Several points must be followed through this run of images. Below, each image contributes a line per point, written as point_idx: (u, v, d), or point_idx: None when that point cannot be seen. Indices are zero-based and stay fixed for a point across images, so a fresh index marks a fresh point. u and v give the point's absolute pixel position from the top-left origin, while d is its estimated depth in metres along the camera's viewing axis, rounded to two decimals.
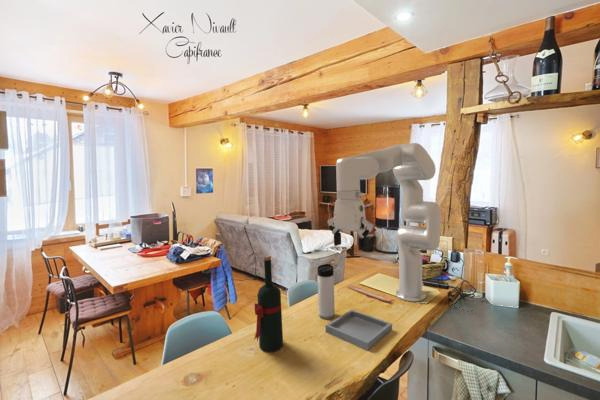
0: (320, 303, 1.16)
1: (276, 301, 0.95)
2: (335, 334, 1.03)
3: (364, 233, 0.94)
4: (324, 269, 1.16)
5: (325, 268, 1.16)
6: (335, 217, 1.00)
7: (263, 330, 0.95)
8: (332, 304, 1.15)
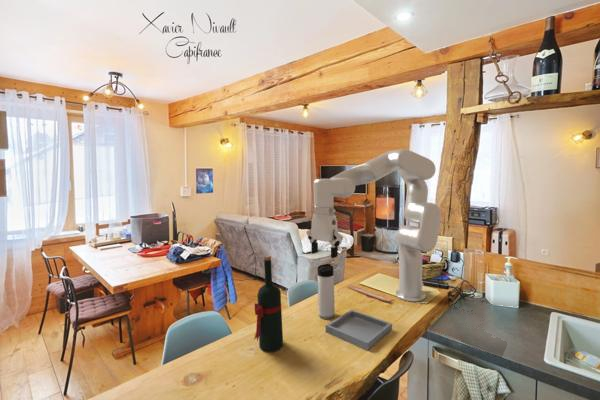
0: (320, 303, 1.16)
1: (276, 301, 0.95)
2: (335, 334, 1.03)
3: (335, 243, 1.11)
4: (324, 269, 1.16)
5: (325, 268, 1.16)
6: (312, 229, 1.16)
7: (263, 330, 0.95)
8: (332, 304, 1.15)
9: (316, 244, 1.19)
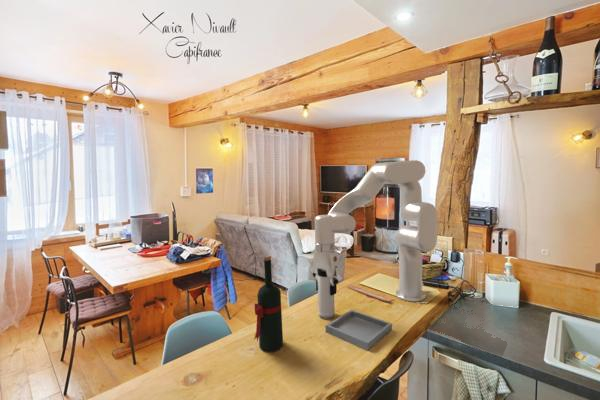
0: (320, 303, 1.16)
1: (276, 301, 0.95)
2: (335, 334, 1.03)
3: (335, 282, 1.13)
4: None
5: None
6: (314, 264, 1.17)
7: (263, 330, 0.95)
8: (332, 304, 1.15)
9: None
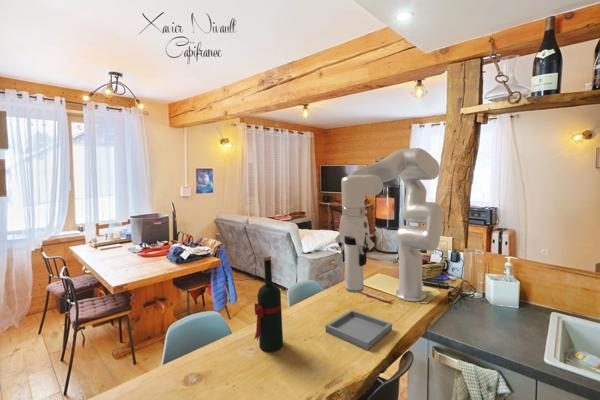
0: (348, 275, 1.03)
1: (276, 301, 0.95)
2: (335, 334, 1.03)
3: (365, 251, 1.00)
4: None
5: None
6: (341, 232, 1.05)
7: (263, 330, 0.95)
8: (361, 276, 1.03)
9: None
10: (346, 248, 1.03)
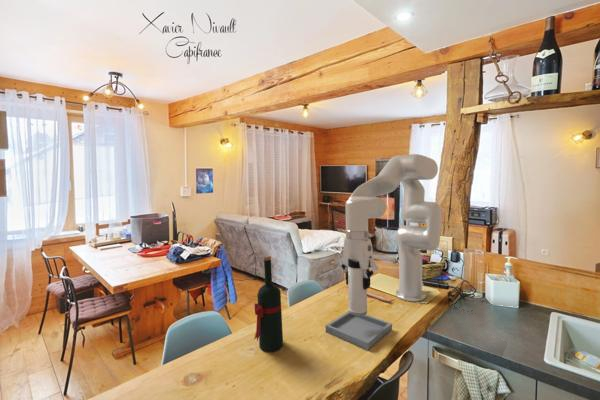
0: (351, 298, 1.02)
1: (276, 301, 0.95)
2: (335, 334, 1.03)
3: (369, 274, 1.00)
4: None
5: None
6: (344, 254, 1.04)
7: (263, 330, 0.95)
8: (365, 299, 1.02)
9: None
10: (350, 271, 1.02)
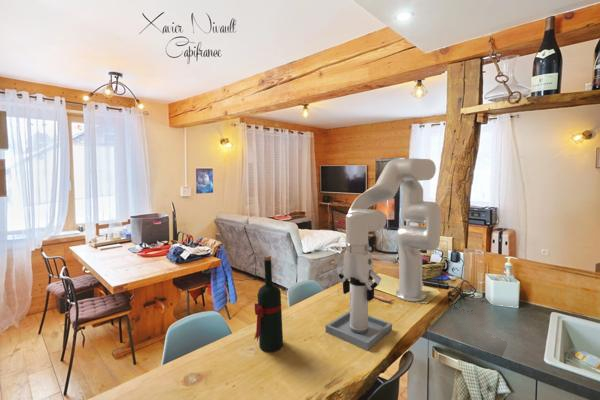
0: (352, 315, 1.03)
1: (276, 301, 0.95)
2: (335, 334, 1.03)
3: (372, 285, 0.99)
4: None
5: None
6: (345, 267, 1.05)
7: (263, 330, 0.95)
8: (366, 316, 1.03)
9: (348, 283, 1.08)
10: (352, 288, 1.03)
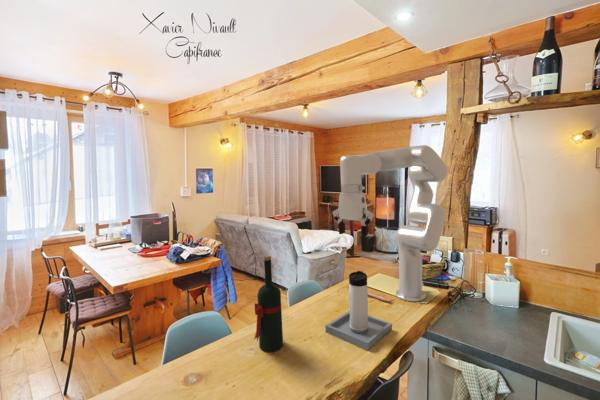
0: (352, 315, 1.03)
1: (276, 301, 0.95)
2: (335, 334, 1.03)
3: (366, 222, 1.07)
4: (357, 277, 1.03)
5: (357, 276, 1.04)
6: (340, 208, 1.12)
7: (263, 330, 0.95)
8: (366, 317, 1.03)
9: (343, 224, 1.15)
10: (351, 289, 1.03)
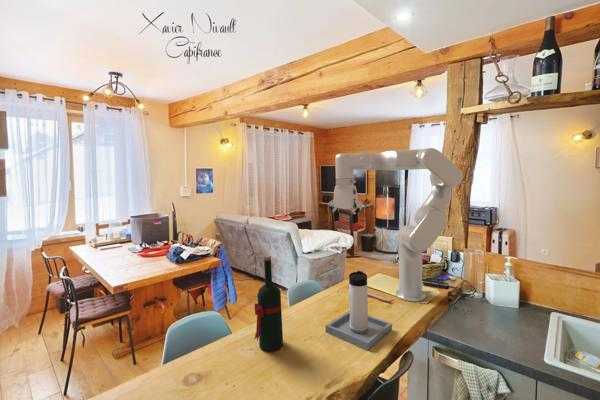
0: (352, 315, 1.03)
1: (276, 301, 0.95)
2: (335, 334, 1.03)
3: (356, 210, 1.25)
4: (357, 277, 1.03)
5: (357, 276, 1.04)
6: (335, 199, 1.30)
7: (263, 330, 0.95)
8: (366, 317, 1.03)
9: (338, 213, 1.33)
10: (351, 289, 1.03)
